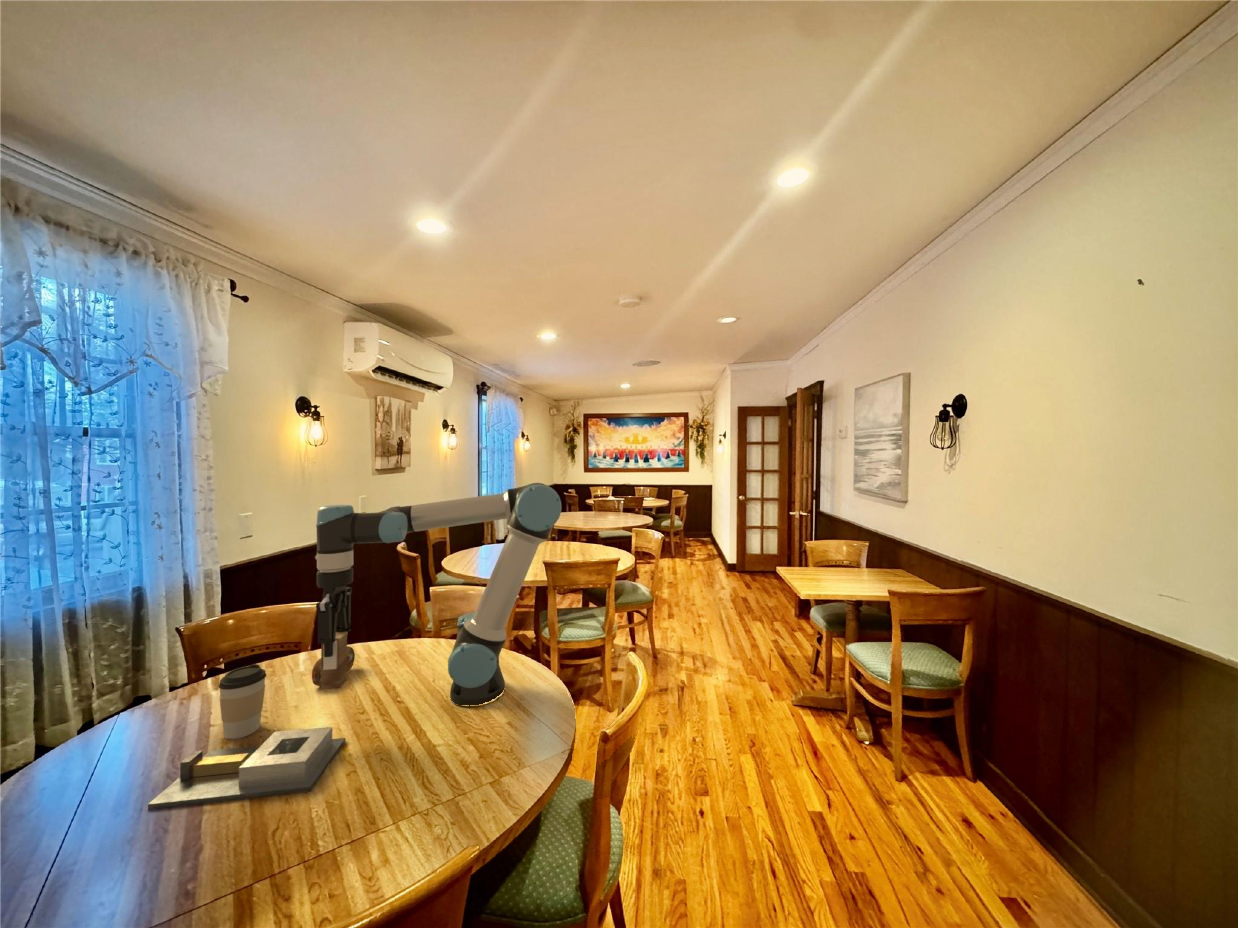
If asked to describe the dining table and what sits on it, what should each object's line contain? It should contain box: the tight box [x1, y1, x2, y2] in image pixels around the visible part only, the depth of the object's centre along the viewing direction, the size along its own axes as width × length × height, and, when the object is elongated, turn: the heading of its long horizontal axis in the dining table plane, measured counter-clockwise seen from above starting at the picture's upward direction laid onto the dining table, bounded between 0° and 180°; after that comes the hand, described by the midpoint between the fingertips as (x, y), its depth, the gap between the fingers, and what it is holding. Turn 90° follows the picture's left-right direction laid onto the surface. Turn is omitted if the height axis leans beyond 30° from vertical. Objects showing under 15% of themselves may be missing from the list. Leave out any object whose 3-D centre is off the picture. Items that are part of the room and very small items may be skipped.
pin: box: [179, 749, 248, 780], centre depth 92 cm, size 11×4×4 cm, turn 100°
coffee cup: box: [217, 663, 267, 740], centre depth 108 cm, size 9×9×15 cm
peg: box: [320, 632, 349, 691], centre depth 106 cm, size 4×4×12 cm
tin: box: [311, 645, 356, 687], centre depth 134 cm, size 15×3×8 cm, turn 174°
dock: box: [147, 726, 346, 810], centre depth 93 cm, size 28×16×5 cm, turn 100°
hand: (335, 663), depth 106 cm, fingers closed on peg, 4 cm apart
